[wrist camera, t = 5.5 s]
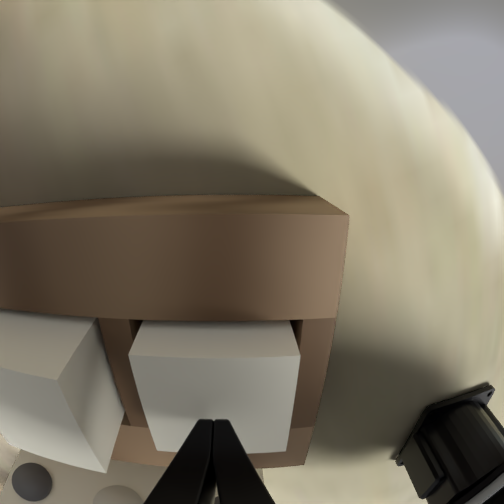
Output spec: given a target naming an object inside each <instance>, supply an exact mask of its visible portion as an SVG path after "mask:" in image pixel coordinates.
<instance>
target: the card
mask: <svg viewBox="0 0 504 504" xmlns="http://www.w3.org/2000/svg"><path fill="white" fill-rule="evenodd" d="M166 469H167V467H164V466H154V465H145V464H138V463H131V462H124V461H118V460H112V459H110V462H109V465H108V469H107V473H102V472H98V471H93V470H89V469H85V468H81V467H77V466H73V465H69V464H65V463H62V462H58V461H55V460H52V459H48V458H45V457H42V456H39V455H36V454H33V453H30V452H27V451H25V450H22V449H21V450H20V452H19V454H18V456H17V458H16V460H15V463H14V465H13V467H12V469H11V471H10V473H9V475H8V478H7V480H6V482H5V484H4V487H3V489H2V491H1V494H0V504H143V503H144V502H145V500H146V499H147V497H148V496H149V494H150V493H151V491H152V490H153V488H154V487H155V485H156V484H157V482H158V481H159V479H160V478H161V476H162V475H163V473H164V472H165V470H166ZM256 471H257V473H258V475H259V477H260V478H261V480H262V482H263V484H264V480H263V471H262V468H261V469H256ZM214 504H220V503H219V497H218V491H217V485H216V493H215V501H214Z"/></svg>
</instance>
